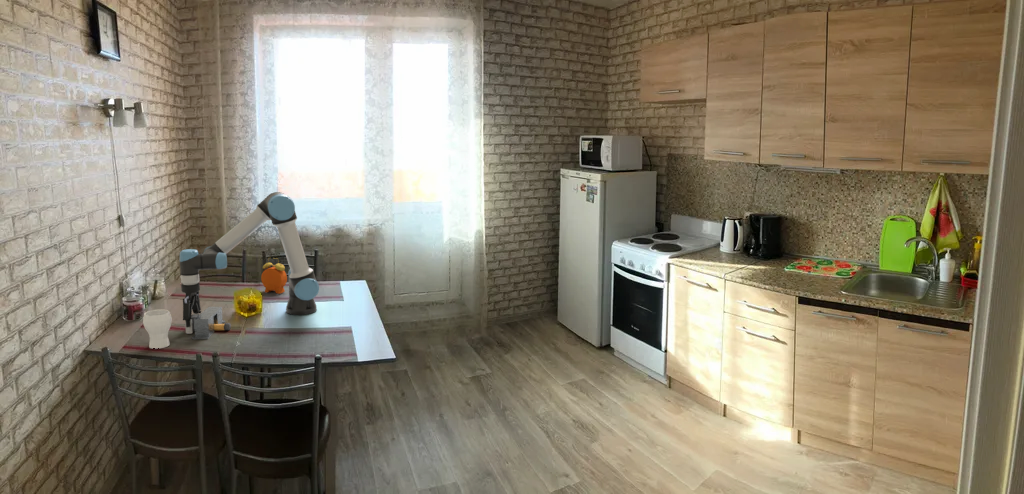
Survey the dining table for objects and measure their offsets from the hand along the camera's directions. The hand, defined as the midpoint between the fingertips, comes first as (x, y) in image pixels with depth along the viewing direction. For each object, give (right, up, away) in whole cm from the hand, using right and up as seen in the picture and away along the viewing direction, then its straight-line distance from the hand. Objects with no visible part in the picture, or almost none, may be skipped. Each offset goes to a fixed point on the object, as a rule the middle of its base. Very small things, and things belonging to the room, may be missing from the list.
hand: (192, 330), depth 285 cm
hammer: (+7, 0, +1) cm, 7 cm away
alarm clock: (+11, +13, +69) cm, 71 cm away
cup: (-4, -4, -20) cm, 21 cm away
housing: (+7, 0, +1) cm, 7 cm away
